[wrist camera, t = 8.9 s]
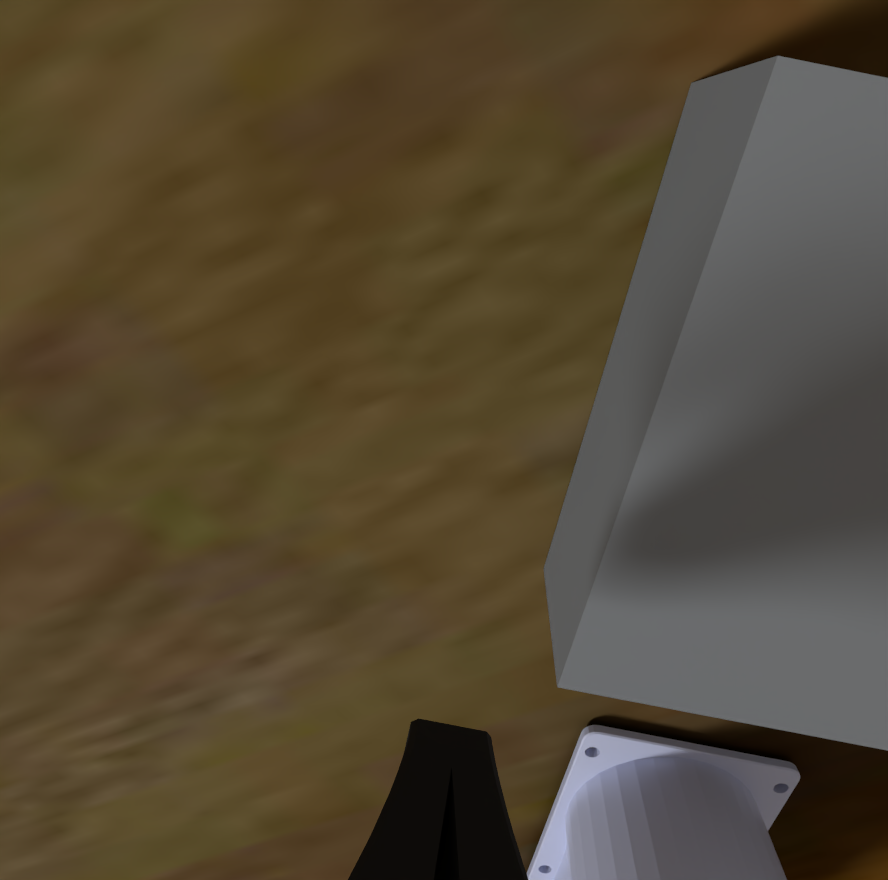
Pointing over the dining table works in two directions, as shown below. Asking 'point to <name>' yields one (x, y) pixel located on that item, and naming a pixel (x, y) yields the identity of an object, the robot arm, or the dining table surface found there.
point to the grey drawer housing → (745, 424)
